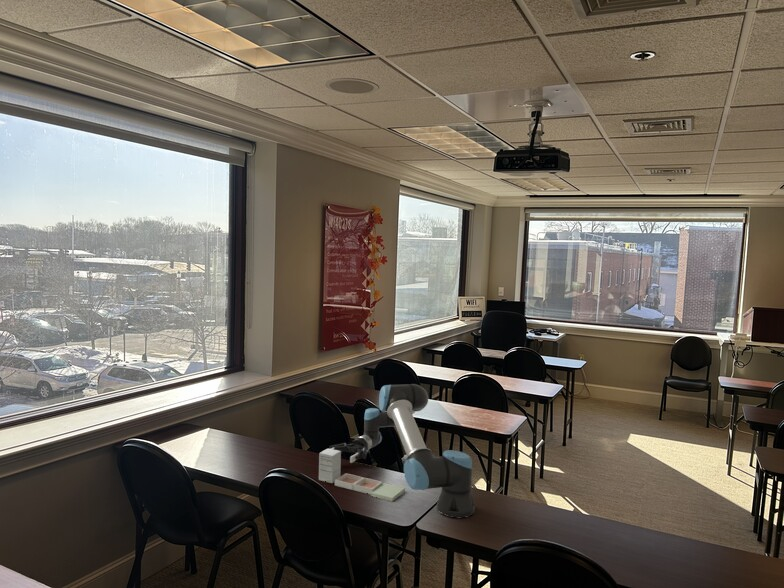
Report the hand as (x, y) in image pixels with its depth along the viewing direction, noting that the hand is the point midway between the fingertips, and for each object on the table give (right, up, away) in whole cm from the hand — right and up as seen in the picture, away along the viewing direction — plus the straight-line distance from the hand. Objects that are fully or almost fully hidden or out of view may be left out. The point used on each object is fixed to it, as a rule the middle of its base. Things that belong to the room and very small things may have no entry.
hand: (338, 457), depth 256 cm
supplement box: (-3, -8, -6) cm, 11 cm away
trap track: (+15, -9, -16) cm, 24 cm away
